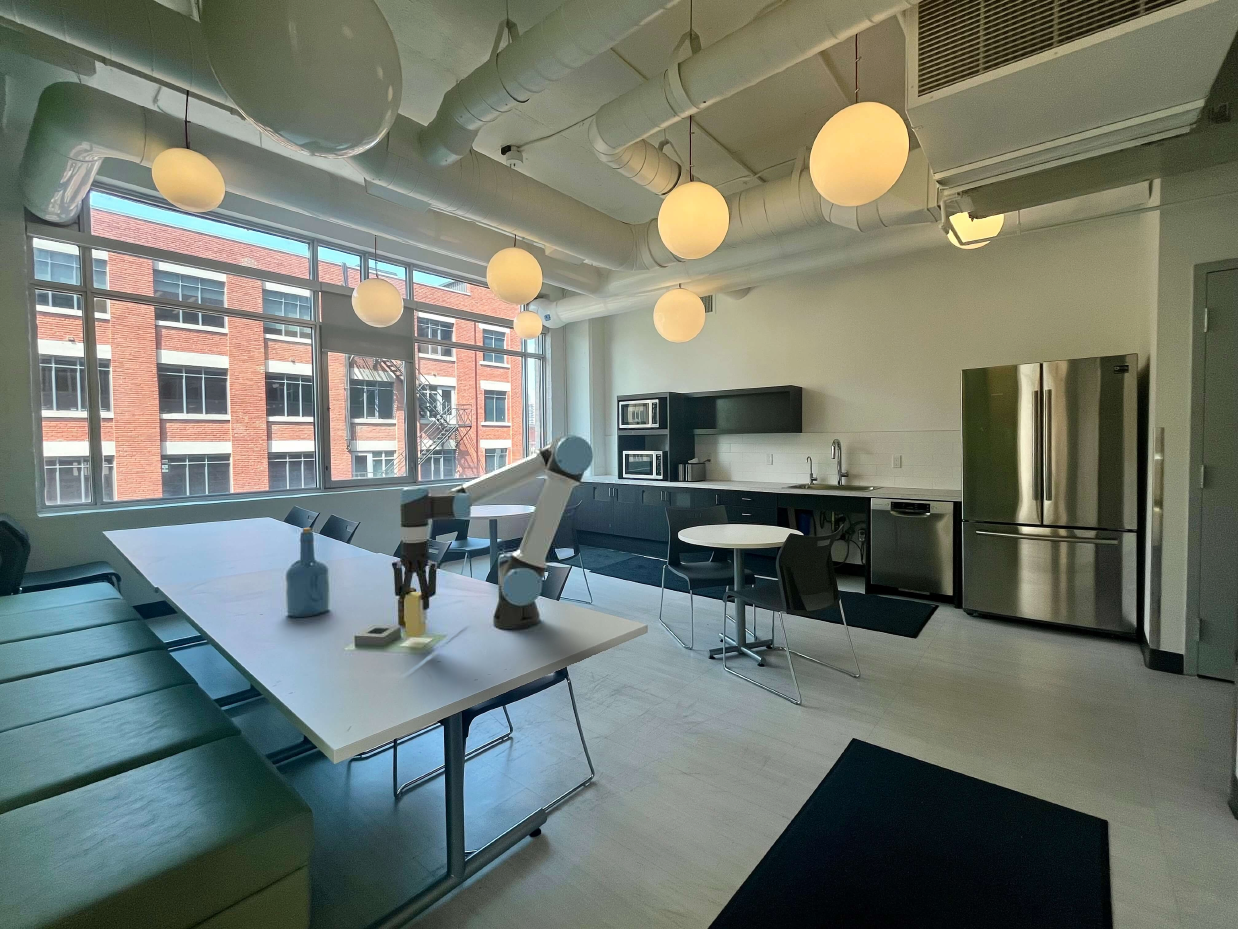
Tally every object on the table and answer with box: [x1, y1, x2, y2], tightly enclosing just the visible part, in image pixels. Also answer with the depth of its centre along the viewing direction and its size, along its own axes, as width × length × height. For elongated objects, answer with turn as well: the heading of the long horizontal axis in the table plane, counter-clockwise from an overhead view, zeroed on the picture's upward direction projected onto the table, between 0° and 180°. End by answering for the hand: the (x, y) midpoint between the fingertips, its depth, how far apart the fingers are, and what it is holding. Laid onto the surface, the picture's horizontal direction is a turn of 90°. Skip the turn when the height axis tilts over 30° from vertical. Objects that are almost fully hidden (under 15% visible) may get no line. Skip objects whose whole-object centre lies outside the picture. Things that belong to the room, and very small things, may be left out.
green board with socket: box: [343, 624, 448, 655], centre depth 156 cm, size 24×15×4 cm, turn 82°
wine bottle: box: [285, 527, 331, 618], centre depth 187 cm, size 14×13×30 cm
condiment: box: [397, 587, 417, 626], centre depth 173 cm, size 7×8×12 cm
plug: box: [405, 591, 427, 637], centre depth 154 cm, size 4×4×12 cm
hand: (415, 620), depth 154 cm, fingers closed on plug, 4 cm apart
